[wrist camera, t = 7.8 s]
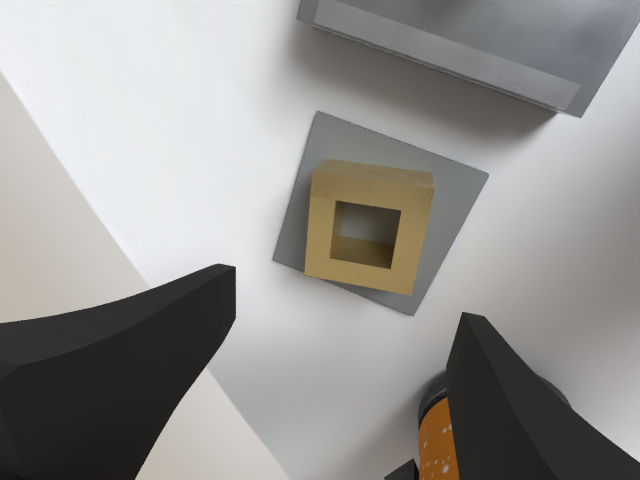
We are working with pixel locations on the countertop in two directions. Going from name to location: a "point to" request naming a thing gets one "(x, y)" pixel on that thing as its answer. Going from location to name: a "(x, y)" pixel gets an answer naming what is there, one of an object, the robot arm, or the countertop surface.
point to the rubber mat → (377, 222)
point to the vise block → (494, 41)
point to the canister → (438, 438)
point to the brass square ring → (357, 254)
